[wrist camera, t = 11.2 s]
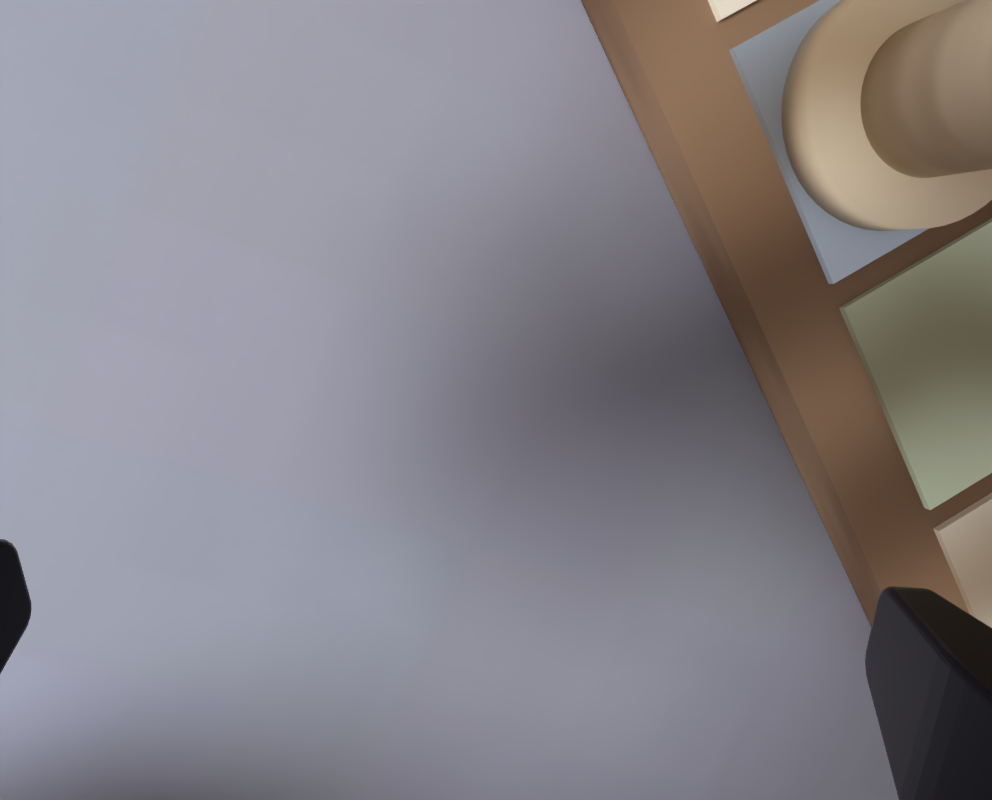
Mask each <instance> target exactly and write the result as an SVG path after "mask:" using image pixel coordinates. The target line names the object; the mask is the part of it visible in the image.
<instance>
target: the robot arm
mask: <svg viewBox="0 0 992 800" xmlns="http://www.w3.org/2000/svg"><path fill="white" fill-rule="evenodd" d="M30 615H31V600H30V596H29V592H28V589H27V585H26V581H25V578H24V574H23V571H22V567H21V563H20V560H19V556H18V553H17V550H16V548H15V547H14V546H13V544H12V543H10V542H8V541H6V540H3V539H0V673H1V672H2V670H3V668H4V666H5V665H6V663H7V661H8V659H9V657H10V656H11V654H12V652H13V650H14V649H15V647H16V645H17V643H18V642H19V640H20V638H21V636H22V635H23V633H24V631H25V629H26V627H27V625H28V622H29V619H30ZM865 666H866V675H867V680H868V684H869V688H870V691H871V695H872V699H873V703H874V707H875V710H876V714H877V718H878V722H879V726H880V729H881V733H882V737H883V741H884V745H885V748H886V752H887V756H888V760H889V764H890V767H891V771H892V775H893V779H894V782H895V786H896V790H897V794H898V798H899V800H992V628H991V627H989V626H988V625H986V624H984V623H983V622H981V621H980V620H978V619H977V618H975V617H973V616H972V615H970V614H969V613H967V612H965V611H964V610H962V609H961V608H959V607H958V606H956V605H954V604H953V603H951V602H950V601H948V600H946V599H945V598H943V597H942V596H940V595H938V594H937V593H935V592H934V591H932V590H930V589H926V588H914V587H893V586H891V587H887V588H886V589H884V590H883V591H882V592H881V594H880V596H879V598H878V601H877V606H876V610H875V615H874V619H873V624H872V628H871V633H870V637H869V641H868V646H867V650H866V659H865Z"/></svg>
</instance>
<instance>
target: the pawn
mask: <svg viewBox="0 0 992 800" xmlns="http://www.w3.org/2000/svg"><path fill="white" fill-rule="evenodd" d="M782 131H783V139H784V143H785V148H786V152H787V155H788V158H789V161H790V164H791V166H792V169H793V171H794V173H795V175H796V177H797V179H798V180H799V182H800V184H801V185H802V187H803V188H804V189H805V191H806V192H807V194H808V195H809V196H810V197H811V198H812V199H813V200H814V202H815V203H816V204H817V205H818V206H820V207H821V208H822V209H823V210H824V211H826V212H827V213H828V214H830V215H831V216H833V217H835V218H836V219H838V220H840V221H842V222H844V223H846V224H849V225H851V226H854V227H858V228H862V229H866V230H875V231H890V230H907V229H925V228H935V227H940V226H945V225H948V224H951V223H954V222H957V221H959V220H962V219H963V218H965V217H967V216H969V215H971V214H973V213H975V212H976V211H978V210H979V209H981V208H982V207H983V206H985V205H986V204H987V203H989V202H990V201H991V200H992V0H842V1H840V2H839V3H837V4H835V5H834V6H833V7H831V8H830V9H829V10H828V11H827V12H826V13H825V14H823V15H822V16H821V17H820V18H819V20H818V21H817V22H816V23H815V24H814V25H813V26H812V27H811V29H810V30H809V32H808V33H807V34H806V36H805V37H804V39H803V40H802V42H801V44H800V46H799V48H798V49H797V51H796V53H795V55H794V57H793V60H792V63H791V65H790V68H789V71H788V74H787V78H786V82H785V86H784V91H783V99H782Z"/></svg>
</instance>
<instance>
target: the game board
mask: <svg viewBox="0 0 992 800" xmlns="http://www.w3.org/2000/svg"><path fill="white" fill-rule="evenodd" d="M581 1H582V4H583V6H584V8H585V10H586V12H587V14H588V17H589V19H590V21H591V23H592V25H593V27H594V30H595V32H596V34H597V36H598V38H599V40H600V42H601V45H602V47H603V49H604V51H605V53H606V55H607V58H608V60H609V62H610V64H611V66H612V68H613V70H614V73H615V75H616V77H617V79H618V81H619V83H620V86H621V88H622V90H623V92H624V94H625V96H626V99H627V101H628V103H629V105H630V107H631V109H632V111H633V114H634V116H635V118H636V120H637V122H638V124H639V127H640V129H641V131H642V133H643V135H644V137H645V140H646V142H647V144H648V146H649V148H650V150H651V152H652V155H653V157H654V159H655V161H656V163H657V165H658V168H659V170H660V172H661V174H662V176H663V178H664V180H665V183H666V185H667V187H668V189H669V191H670V193H671V196H672V198H673V200H674V202H675V204H676V206H677V209H678V211H679V213H680V215H681V217H682V219H683V221H684V224H685V226H686V228H687V230H688V232H689V234H690V237H691V239H692V241H693V243H694V245H695V247H696V249H697V252H698V254H699V256H700V258H701V260H702V262H703V265H704V267H705V269H706V271H707V273H708V275H709V278H710V280H711V282H712V284H713V286H714V288H715V290H716V293H717V295H718V297H719V299H720V301H721V303H722V306H723V308H724V310H725V312H726V314H727V316H728V318H729V321H730V323H731V325H732V327H733V329H734V331H735V334H736V336H737V338H738V340H739V342H740V344H741V347H742V349H743V351H744V353H745V355H746V357H747V359H748V362H749V364H750V366H751V368H752V370H753V372H754V375H755V377H756V379H757V381H758V383H759V385H760V388H761V390H762V392H763V394H764V396H765V398H766V400H767V403H768V405H769V407H770V409H771V411H772V413H773V416H774V418H775V420H776V422H777V424H778V426H779V428H780V431H781V433H782V435H783V437H784V439H785V441H786V444H787V446H788V448H789V450H790V452H791V454H792V457H793V459H794V461H795V463H796V465H797V467H798V469H799V472H800V474H801V476H802V478H803V480H804V482H805V485H806V487H807V489H808V491H809V493H810V495H811V497H812V500H813V502H814V504H815V506H816V508H817V510H818V513H819V515H820V517H821V519H822V521H823V523H824V526H825V528H826V530H827V532H828V534H829V536H830V538H831V541H832V543H833V545H834V547H835V549H836V551H837V554H838V556H839V558H840V560H841V562H842V564H843V566H844V569H845V571H846V573H847V575H848V577H849V579H850V582H851V584H852V586H853V588H854V590H855V592H856V595H857V597H858V599H859V601H860V603H861V605H862V607H863V610H864V612H865V614H866V616H867V618H868V620H869V623H870V625H871V627H872V624H873V619H874V615H875V610H876V606H877V601H878V598H879V596H880V594H881V592H882V591H883V590H884V589H886V588H887V587H891V586H893V587H914V588H926V589H930V590H932V591H934V592H935V593H937V594H938V595H940V596H942V597H943V598H945V599H946V600H948V601H950V602H951V603H953V604H954V605H956V606H958V607H959V608H961V609H962V610H964V611H965V612H967V613H969V614H970V615H972V616H973V617H975V618H977V619H978V620H980V621H981V622H983V623H984V624H986V625H988V626H989V627H991V628H992V200H991V201H990V202H989V203H987V204H986V205H985V206H983V207H982V208H981V209H979V210H978V211H976V212H975V213H973V214H971V215H969V216H967V217H965V218H963V219H962V220H959V221H957V222H954V223H951V224H948V225H945V226H940V227H935V228H925V229H907V230H890V231H875V230H866V229H862V228H858V227H854V226H851V225H849V224H846V223H844V222H842V221H840V220H838V219H836V218H835V217H833V216H831V215H830V214H828V213H827V212H826V211H824V210H823V209H822V208H821V207H820V206H818V205H817V204H816V203H815V202H814V200H813V199H812V198H811V197H810V196H809V195H808V194H807V192H806V191H805V189H804V188H803V187H802V185H801V184H800V182H799V180H798V179H797V177H796V175H795V173H794V171H793V169H792V166H791V164H790V161H789V158H788V155H787V152H786V148H785V143H784V139H783V131H782V99H783V91H784V86H785V82H786V78H787V74H788V71H789V68H790V65H791V63H792V60H793V57H794V55H795V53H796V51H797V49H798V48H799V46H800V44H801V42H802V40H803V39H804V37H805V36H806V34H807V33H808V32H809V30H810V29H811V27H812V26H813V25H814V24H815V23H816V22H817V21H818V20H819V18H820V17H821V16H822V15H823V14H825V13H826V12H827V11H828V10H829V9H830V8H831V7H833V6H834V5H835V4H837V3H839V2H840V1H842V0H581Z"/></svg>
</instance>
